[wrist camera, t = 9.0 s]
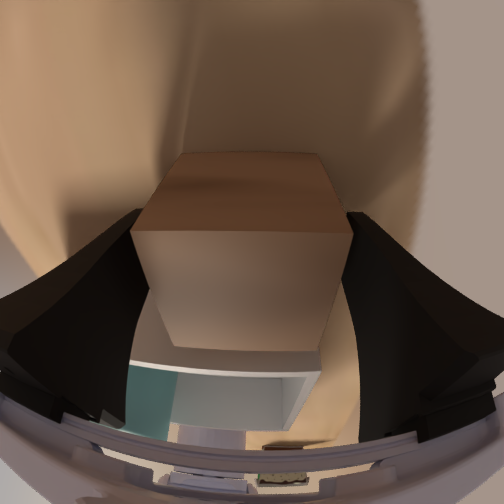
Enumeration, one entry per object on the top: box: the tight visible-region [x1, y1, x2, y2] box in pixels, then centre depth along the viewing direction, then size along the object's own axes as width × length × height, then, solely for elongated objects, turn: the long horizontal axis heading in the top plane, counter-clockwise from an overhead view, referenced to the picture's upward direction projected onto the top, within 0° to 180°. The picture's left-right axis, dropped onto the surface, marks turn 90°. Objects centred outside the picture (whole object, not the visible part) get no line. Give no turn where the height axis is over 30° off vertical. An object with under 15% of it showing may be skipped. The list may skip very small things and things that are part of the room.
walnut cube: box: [130, 152, 353, 351], centre depth 9 cm, size 5×5×5 cm
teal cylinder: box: [90, 364, 178, 441], centre depth 15 cm, size 5×5×7 cm
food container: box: [254, 446, 309, 487], centre depth 46 cm, size 12×6×10 cm, turn 70°
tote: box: [129, 290, 322, 431], centre depth 16 cm, size 12×14×5 cm
